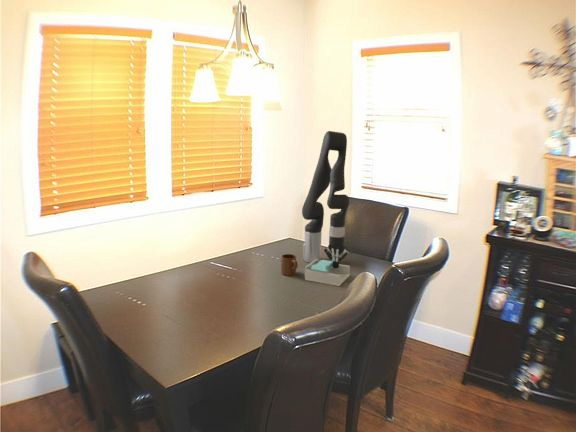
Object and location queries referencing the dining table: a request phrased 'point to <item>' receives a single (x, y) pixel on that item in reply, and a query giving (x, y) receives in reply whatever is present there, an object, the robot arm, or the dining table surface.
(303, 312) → the dining table surface
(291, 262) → the mug
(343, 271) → the grey housing
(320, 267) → the teal lid
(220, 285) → the dining table surface
